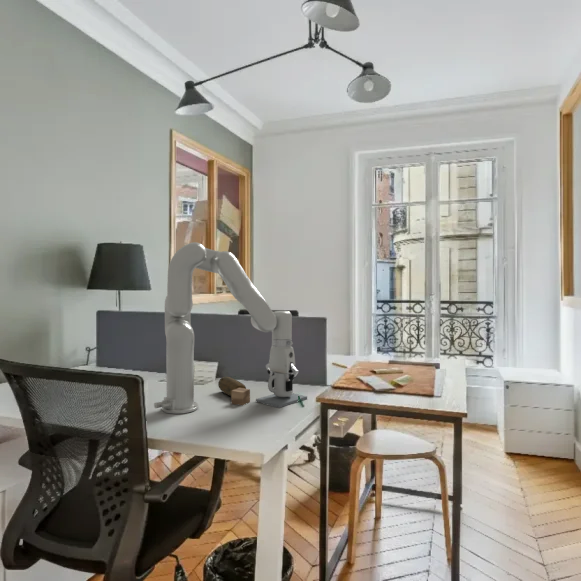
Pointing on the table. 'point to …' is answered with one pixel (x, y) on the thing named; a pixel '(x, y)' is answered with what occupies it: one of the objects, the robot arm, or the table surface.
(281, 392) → the cup
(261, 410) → the table surface
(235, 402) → the walnut block
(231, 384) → the brown rounded cylinder
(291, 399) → the mat
